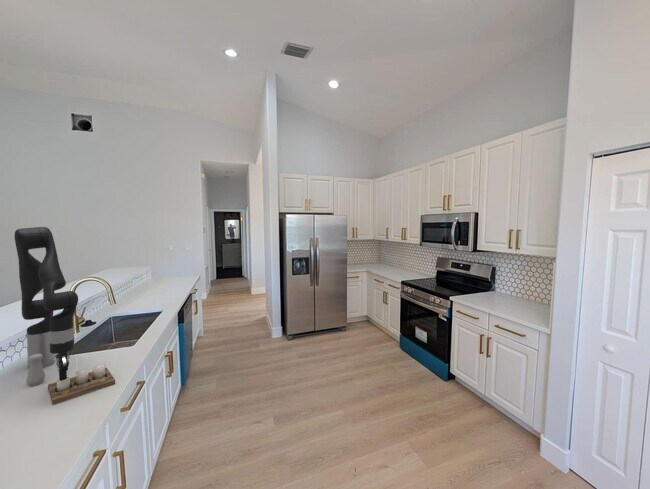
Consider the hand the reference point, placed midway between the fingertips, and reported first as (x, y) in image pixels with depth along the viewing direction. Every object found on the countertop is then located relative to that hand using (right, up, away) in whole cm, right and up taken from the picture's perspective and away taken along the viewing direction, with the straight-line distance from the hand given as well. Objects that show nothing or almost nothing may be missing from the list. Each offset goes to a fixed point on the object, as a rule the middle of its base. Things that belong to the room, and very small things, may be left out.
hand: (63, 379), depth 115 cm
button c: (+8, -3, +10) cm, 13 cm away
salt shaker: (-18, -5, +6) cm, 20 cm away
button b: (+4, -4, +5) cm, 7 cm away
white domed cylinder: (0, -5, 0) cm, 5 cm away
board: (+4, -6, +5) cm, 8 cm away
